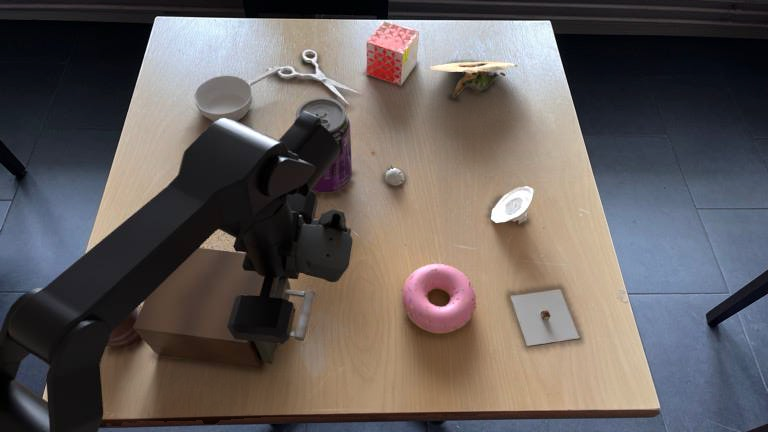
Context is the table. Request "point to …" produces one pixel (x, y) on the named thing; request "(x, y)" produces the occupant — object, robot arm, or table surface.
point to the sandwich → (474, 73)
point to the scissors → (314, 75)
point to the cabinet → (200, 310)
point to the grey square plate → (544, 317)
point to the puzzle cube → (392, 52)
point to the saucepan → (227, 96)
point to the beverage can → (340, 129)
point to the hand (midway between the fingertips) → (287, 291)
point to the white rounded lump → (394, 176)
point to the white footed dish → (513, 205)
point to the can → (125, 333)
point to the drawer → (269, 349)
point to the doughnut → (432, 315)
